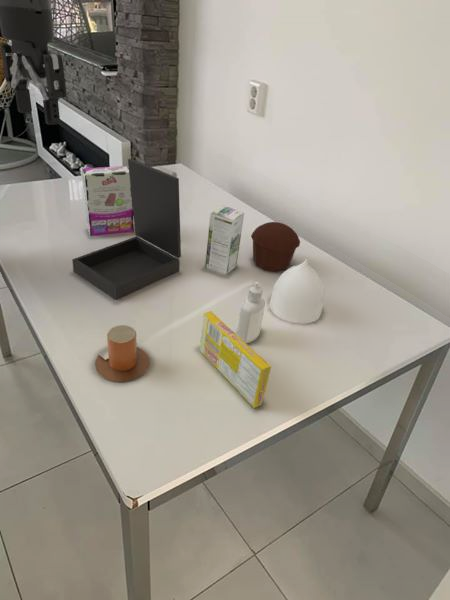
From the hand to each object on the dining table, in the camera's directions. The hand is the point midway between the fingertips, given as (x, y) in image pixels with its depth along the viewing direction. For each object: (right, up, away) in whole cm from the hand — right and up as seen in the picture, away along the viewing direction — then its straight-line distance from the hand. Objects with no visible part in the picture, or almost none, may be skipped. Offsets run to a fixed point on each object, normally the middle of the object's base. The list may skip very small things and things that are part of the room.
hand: (38, 118), depth 76 cm
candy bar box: (+2, -13, +40) cm, 42 cm away
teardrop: (+46, -33, +20) cm, 60 cm away
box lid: (+16, -11, +22) cm, 29 cm away
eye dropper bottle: (+36, -38, +10) cm, 53 cm away
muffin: (+43, -22, +35) cm, 59 cm away
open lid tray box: (+10, -25, +24) cm, 36 cm away
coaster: (+14, -41, +1) cm, 44 cm away
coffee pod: (+14, -41, 0) cm, 43 cm away
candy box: (+32, -44, +1) cm, 54 cm away
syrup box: (+30, -24, +30) cm, 49 cm away
